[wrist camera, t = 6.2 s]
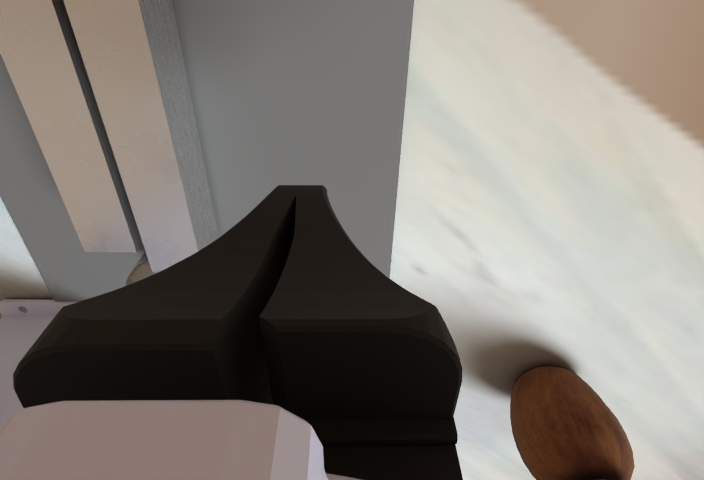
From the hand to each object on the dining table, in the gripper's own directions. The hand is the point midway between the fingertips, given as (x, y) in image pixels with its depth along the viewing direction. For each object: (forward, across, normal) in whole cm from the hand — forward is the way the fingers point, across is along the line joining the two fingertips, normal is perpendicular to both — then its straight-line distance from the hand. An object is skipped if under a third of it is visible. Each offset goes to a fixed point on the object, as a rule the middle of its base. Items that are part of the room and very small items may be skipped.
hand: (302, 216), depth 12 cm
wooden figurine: (+10, -16, +20) cm, 27 cm away
